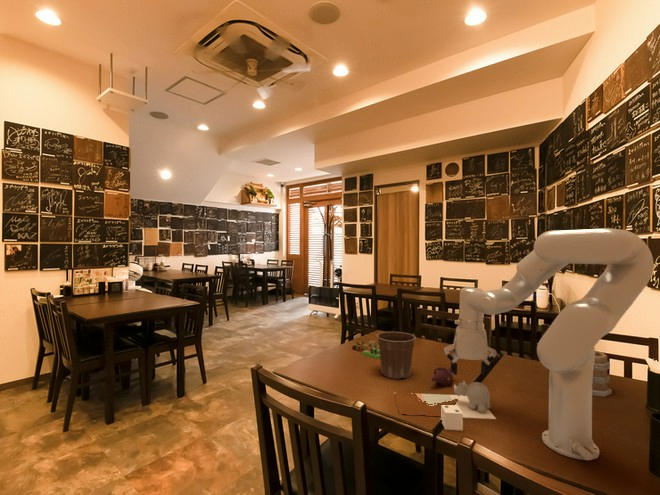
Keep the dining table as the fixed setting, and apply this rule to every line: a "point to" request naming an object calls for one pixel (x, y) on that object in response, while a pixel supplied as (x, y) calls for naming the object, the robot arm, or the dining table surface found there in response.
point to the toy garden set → (372, 353)
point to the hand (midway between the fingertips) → (468, 374)
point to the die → (451, 417)
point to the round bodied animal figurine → (474, 395)
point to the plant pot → (396, 354)
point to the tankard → (600, 375)
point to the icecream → (443, 376)
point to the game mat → (461, 403)
